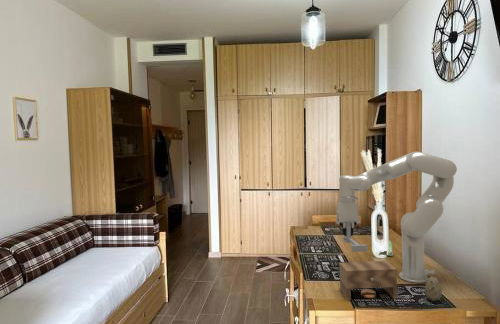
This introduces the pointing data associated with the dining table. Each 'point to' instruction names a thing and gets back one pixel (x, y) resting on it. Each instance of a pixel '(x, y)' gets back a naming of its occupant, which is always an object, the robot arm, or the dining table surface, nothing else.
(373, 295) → the copper token
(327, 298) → the dining table surface
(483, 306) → the dining table surface
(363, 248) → the grey parking meter
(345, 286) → the wooden bridge block
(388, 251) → the frog
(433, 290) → the decorative egg
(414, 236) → the robot arm
